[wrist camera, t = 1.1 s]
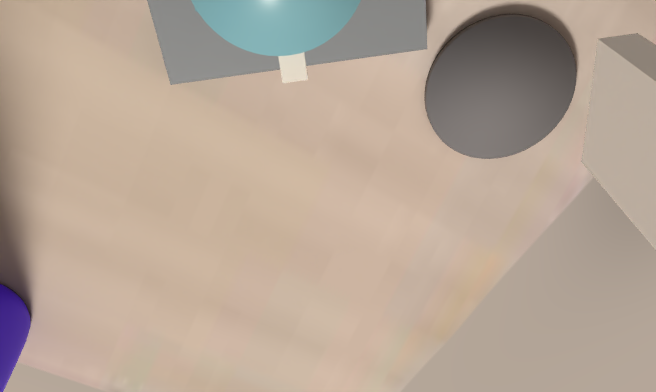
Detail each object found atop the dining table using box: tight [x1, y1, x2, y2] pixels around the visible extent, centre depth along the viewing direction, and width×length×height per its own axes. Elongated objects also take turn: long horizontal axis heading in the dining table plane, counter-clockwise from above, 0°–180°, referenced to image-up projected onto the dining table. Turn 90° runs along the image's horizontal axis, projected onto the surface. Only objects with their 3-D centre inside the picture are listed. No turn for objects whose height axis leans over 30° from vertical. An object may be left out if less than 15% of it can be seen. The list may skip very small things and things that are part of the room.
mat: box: [425, 14, 576, 159], centre depth 40 cm, size 10×10×1 cm
